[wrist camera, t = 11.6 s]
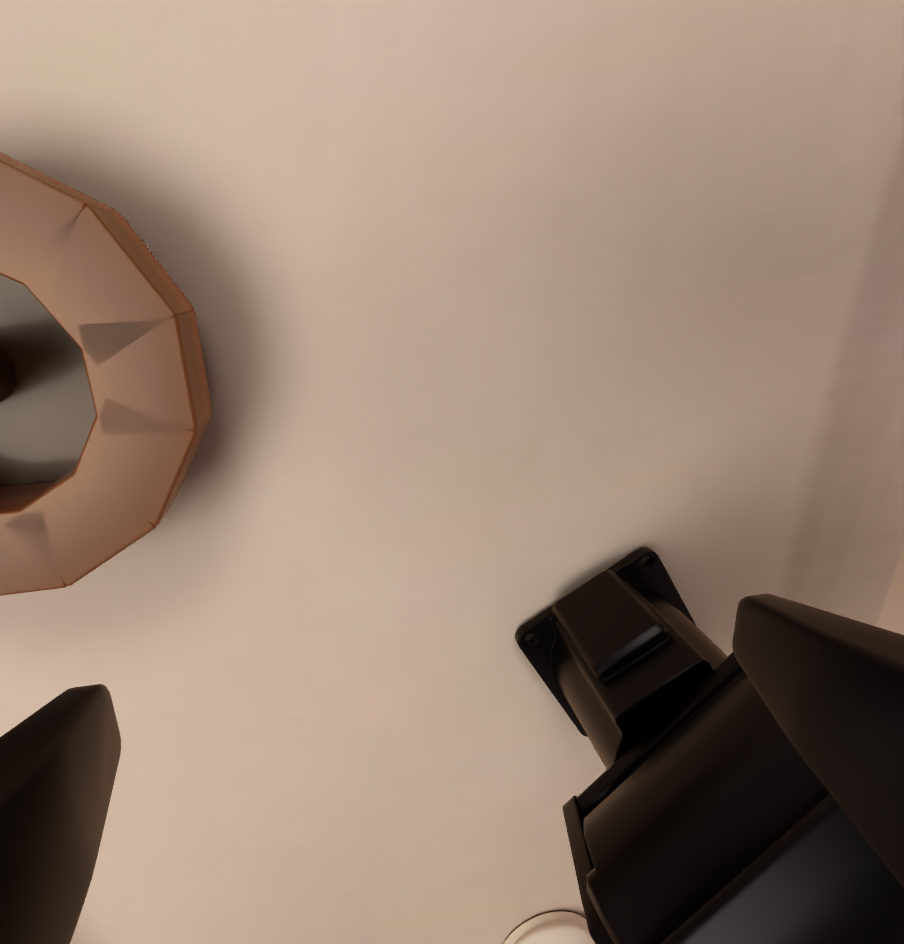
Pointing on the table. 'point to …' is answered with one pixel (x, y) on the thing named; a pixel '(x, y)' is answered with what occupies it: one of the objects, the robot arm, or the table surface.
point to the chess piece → (552, 930)
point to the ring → (100, 381)
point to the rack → (39, 392)
